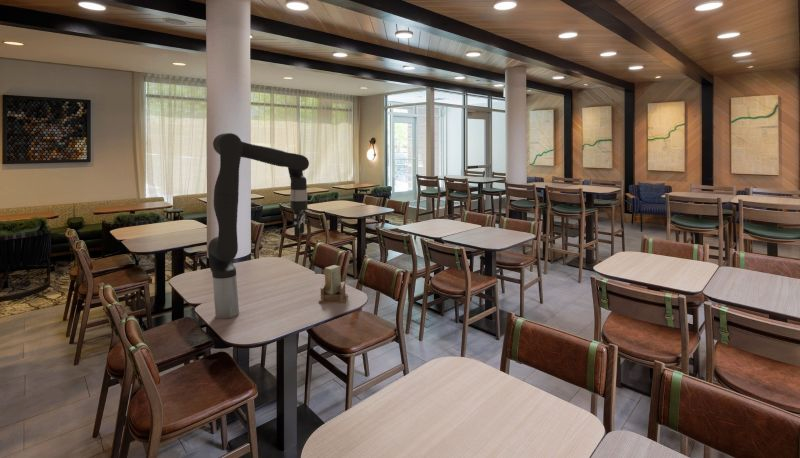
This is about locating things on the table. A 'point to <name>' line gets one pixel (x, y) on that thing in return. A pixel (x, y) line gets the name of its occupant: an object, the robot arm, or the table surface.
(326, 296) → the stand
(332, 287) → the skincare box
